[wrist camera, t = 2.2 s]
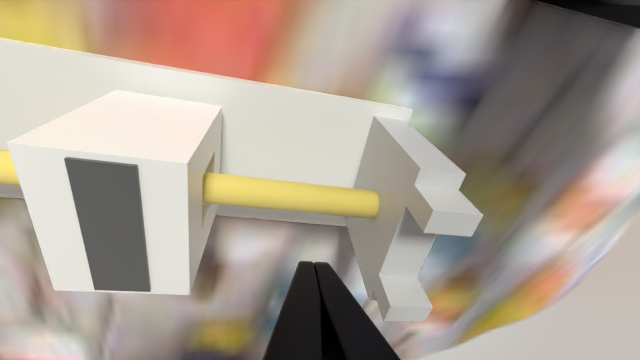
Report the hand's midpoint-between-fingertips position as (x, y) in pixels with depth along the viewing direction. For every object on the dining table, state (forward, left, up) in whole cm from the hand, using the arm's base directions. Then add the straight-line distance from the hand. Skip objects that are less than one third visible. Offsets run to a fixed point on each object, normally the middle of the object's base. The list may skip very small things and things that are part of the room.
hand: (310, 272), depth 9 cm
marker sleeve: (+6, 0, -7) cm, 9 cm away
